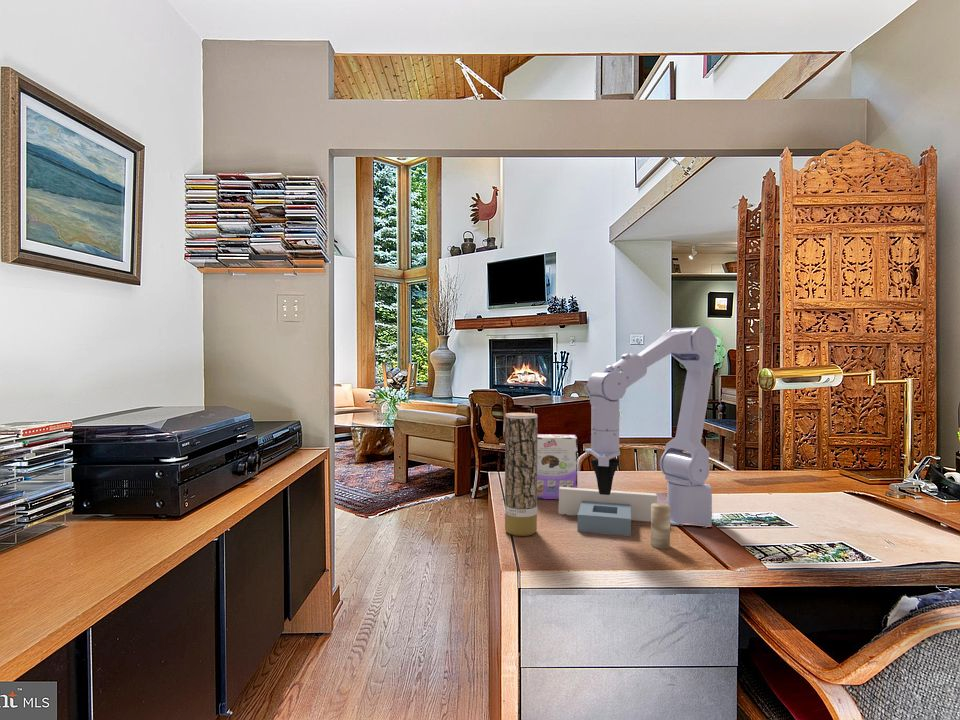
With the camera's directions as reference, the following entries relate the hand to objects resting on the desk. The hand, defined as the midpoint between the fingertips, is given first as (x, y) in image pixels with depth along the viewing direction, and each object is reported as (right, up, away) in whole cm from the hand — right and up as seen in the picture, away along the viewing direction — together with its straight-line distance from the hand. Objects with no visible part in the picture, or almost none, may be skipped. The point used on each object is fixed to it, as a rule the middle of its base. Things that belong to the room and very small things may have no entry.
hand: (604, 493), depth 114 cm
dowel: (+10, -9, -6) cm, 14 cm away
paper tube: (-17, -9, +1) cm, 20 cm away
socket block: (+1, -9, +6) cm, 11 cm away
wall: (+3, -8, +12) cm, 15 cm away
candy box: (-8, -8, +29) cm, 31 cm away
